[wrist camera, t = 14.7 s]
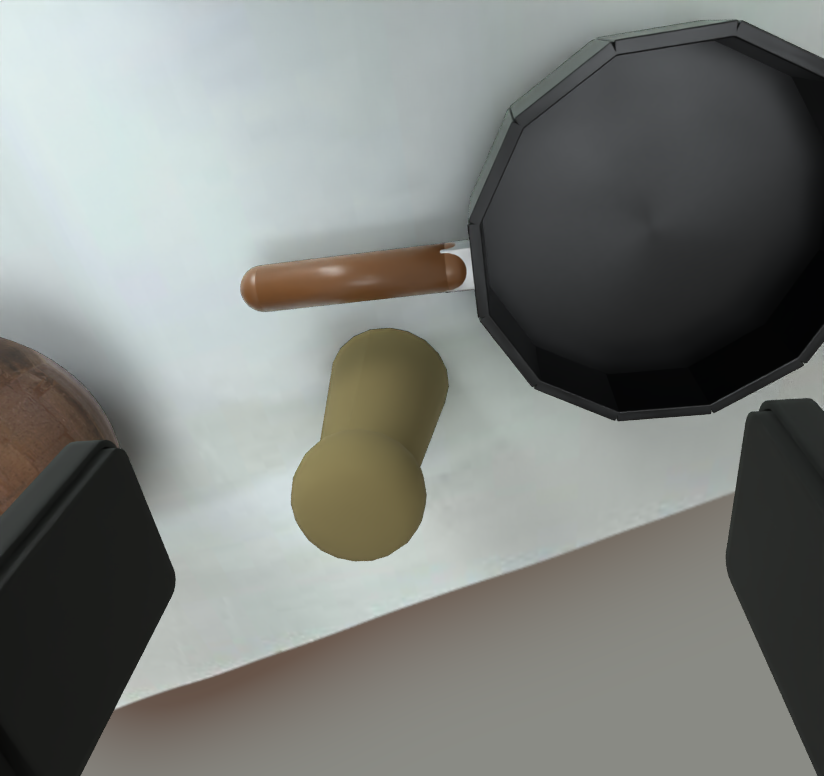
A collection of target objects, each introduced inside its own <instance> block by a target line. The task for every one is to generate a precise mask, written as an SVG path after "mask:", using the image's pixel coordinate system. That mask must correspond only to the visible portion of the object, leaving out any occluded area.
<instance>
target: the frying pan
mask: <svg viewBox="0 0 824 776" xmlns="http://www.w3.org/2000/svg"><path fill="white" fill-rule="evenodd" d="M510 107H511V109H508V110H507V113H506V115H505V117H504V120H503V122H502V124H501V127H500V129H499V131H498V133H497V136H496V138H495V140H494V143H493V145H492V147H491V150H490V152H489V154H488V157H487V159H486V161H485V164H484V166H483V168H482V171H481V173H480V175H479V178H478V180H477V182H476V185H475V187H474V189H473V192H472V194H471V196H470V202H469V214H468V234H469V240H461V241H453V242H445V243H439V244H431V245H423V246H414V247H406V248H398V249H390V250H382V251H374V252H365V253H357V254H349V255H341V256H333V257H324V258H316V259H308V260H300V261H292V262H284V263H275V264H267V265H260V266H255V267H253V268H251V269H250V270H249V271H247V272H246V274H245V275H244V276H243V278H242V281H241V285H240V291H241V295H242V298H243V300H244V301H245V303H246V304H247V305H248V306H250V307H251V308H252V309H254V310H257V311H261V312H270V311H279V310H288V309H297V308H306V307H315V306H324V305H334V304H343V303H352V302H361V301H370V300H379V299H388V298H397V297H406V296H415V295H424V294H433V293H442V292H446V293H448V292H457V291H466V290H475V296H476V305H477V314H478V318H479V320H480V322H481V323H482V325H483V326H484V327H485V328H486V330H487V331H488V332H489V333H490V335H491V336H492V337H493V338H494V340H495V341H496V342H497V344H498V345H499V346H500V347H501V349H502V350H503V351H504V352H505V354H506V355H507V356H508V357H509V359H510V360H511V361H512V363H513V364H514V365H515V366H516V368H517V369H518V370H519V371H520V373H521V374H522V375H523V376H524V378H525V379H526V380H527V382H528V383H529V384H530V385H531V386H532V387H534V389H536V390H538V391H541V392H543V393H546V394H548V395H551V396H554V397H556V398H559V399H561V400H564V401H566V402H569V403H571V404H574V405H576V406H579V407H581V408H584V409H586V410H589V411H591V412H594V413H596V414H599V415H601V416H604V417H606V418H609V419H611V420H614V421H615V420H616V419H617V421H627V420H640V419H653V418H666V417H679V416H692V415H705V414H711V410H712V412H713V413H715V412H717V411H719V410H721V409H723V408H725V407H727V406H729V405H730V404H732V403H734V402H736V401H738V400H740V399H742V398H744V397H746V396H747V395H749V394H751V393H753V392H755V391H757V390H759V389H761V388H763V387H765V386H766V385H768V384H770V383H772V382H774V381H776V380H778V379H780V378H782V377H783V376H785V375H787V374H789V373H791V372H793V371H795V370H797V369H799V368H801V367H802V366H804V364H803V363H807V362H808V361H809V360H810V358H811V357H812V356H813V355H814V353H815V352H816V351H817V350H818V348H819V347H820V346H821V345H822V343H823V342H824V59H823V58H821V57H819V56H817V55H815V54H813V53H811V52H809V51H806V50H804V49H802V48H800V47H798V46H796V45H794V44H792V43H790V42H787V41H785V40H783V39H781V38H779V37H777V36H775V35H773V34H770V33H768V32H766V31H764V30H762V29H760V28H758V27H756V26H754V25H751V24H749V23H747V22H745V21H743V20H740V21H738V20H701V21H695V22H689V23H683V24H677V25H670V26H664V27H658V28H652V29H646V30H640V31H634V32H628V33H622V34H616V35H610V36H604V37H598V38H597V39H596V40H592V41H591V42H589V43H588V44H587V45H586V46H584V47H583V48H582V49H581V50H579V51H578V52H577V53H576V54H574V55H573V56H572V57H571V58H569V59H568V60H567V61H566V62H564V63H563V64H562V65H561V66H559V67H558V68H557V69H556V70H554V71H553V72H552V73H551V74H550V75H548V76H547V77H546V78H545V79H543V80H542V81H541V82H540V83H538V84H537V85H536V86H535V87H533V88H532V89H531V90H530V91H528V92H527V93H526V94H525V95H523V96H522V97H521V98H520V99H518V100H517V101H516V102H515V103H513V104H512V105H511V106H510Z"/></svg>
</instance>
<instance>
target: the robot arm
mask: <svg viewBox="0 0 824 776" xmlns="http://www.w3.org/2000/svg"><path fill="white" fill-rule="evenodd" d="M726 566H727V572H728V576H729V578H730V581H731V583H732V586H733V588H734V590H735V592H736V595H737V597H738V599H739V601H740V603H741V606H742V608H743V610H744V612H745V614H746V617H747V619H748V621H749V624H750V626H751V628H752V630H753V632H754V635H755V637H756V639H757V641H758V643H759V646H760V648H761V650H762V652H763V655H764V657H765V659H766V662H767V664H768V666H769V668H770V671H771V672H772V675H773V677H774V679H775V682H776V684H777V686H778V688H779V691H780V693H781V694H782V697H783V699H784V702H785V704H786V706H787V708H788V711H789V713H790V715H791V717H792V720H793V722H794V724H795V726H796V729H797V731H798V733H799V735H800V738H801V740H802V742H803V744H804V746H805V748H806V751H807V753H808V755H809V758H810V760H811V762H812V764H813V767H814V769H815V771H816V773H817V776H824V411H823V410H822V409H821V408H820V407H819V405H818V404H817V403H816V402H815V401H813V400H812V399H809V398H802V399H785V400H768V401H765V402H763V403H762V405H761V407H760V410H759V411H756V412H750V413H749V414H748V416H747V419H746V423H745V430H744V437H743V443H742V450H741V456H740V463H739V470H738V476H737V483H736V490H735V496H734V503H733V510H732V517H731V523H730V530H729V536H728V543H727V549H726ZM175 580H176V579H175V572H174V569H173V566H172V564H171V561H170V559H169V556H168V554H167V551H166V549H165V547H164V544H163V542H162V539H161V537H160V534H159V532H158V529H157V527H156V524H155V522H154V519H153V517H152V515H151V512H150V510H149V507H148V505H147V502H146V500H145V497H144V495H143V492H142V490H141V487H140V485H139V483H138V480H137V478H136V475H135V473H134V470H133V468H132V465H131V463H130V460H129V458H128V456H127V454H126V452H125V451H124V450H123V449H120V448H117V447H116V445H115V444H114V443H113V442H112V441H109V440H92V441H75V442H71V443H69V444H68V445H66V446H65V447H64V448H63V449H62V450H61V451H60V452H59V454H58V455H57V456H56V457H55V458H54V459H53V460H52V461H51V462H50V463H49V464H48V465H47V467H46V468H45V469H44V470H43V471H42V472H41V473H40V474H39V475H38V476H37V477H36V478H35V479H34V481H33V482H32V483H31V484H30V485H29V486H28V487H27V488H26V489H25V490H24V491H23V492H22V494H21V495H20V496H19V497H18V498H17V499H16V500H15V501H14V502H13V503H12V504H11V505H10V507H9V508H8V509H7V510H6V511H5V512H4V513H3V514H2V515H1V516H0V776H80V775H81V774H82V772H83V770H84V767H85V766H86V764H87V762H88V760H89V758H90V756H91V754H92V752H93V750H94V748H95V746H96V744H97V742H98V740H99V738H100V736H101V734H102V732H103V730H104V728H105V726H106V724H107V722H108V721H109V719H110V716H111V715H112V713H113V711H114V709H115V707H116V705H117V703H118V701H119V699H120V697H121V695H122V693H123V691H124V689H125V687H126V685H127V683H128V681H129V679H130V677H131V675H132V673H133V671H134V669H135V668H136V666H137V664H138V662H139V660H140V658H141V656H142V654H143V652H144V650H145V648H146V646H147V644H148V642H149V640H150V638H151V636H152V634H153V632H154V630H155V628H156V626H157V624H158V622H159V620H160V618H161V616H162V615H163V613H164V611H165V609H166V607H167V605H168V603H169V601H170V599H171V597H172V595H173V592H174V588H175Z"/></svg>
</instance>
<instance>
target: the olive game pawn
mask: <svg viewBox="0 0 824 776" xmlns="http://www.w3.org/2000/svg"><path fill="white" fill-rule="evenodd" d="M448 387H449V384H448V377H447V369H446V368H445V366H444V364H443V362H442V360H441V358H440V356H439V354H438V353H437V352H436V351H435V350H434V349H433V348H432V347H431V346H430V345H429V344H428V343H427V342H426V341H425V340H423V339H421V338H419V337H417V336H415V335H413V334H412V333H410V332H407V331H402V330H397V329H392V328H384V329H373V330H369V331H366V332H364V333H361V334H359V335H357V336H354V337H353V338H352V339H351V340H349V341H348V342H347V343H346V344H345V345H344V346H343V347H342V348H341V349H340V350H339V352H338V354H337V356H336V358H335V360H334V362H333V365H332V371H331V378H330V384H329V390H328V396H327V402H326V409H325V415H324V421H323V427H322V433H321V440H320V442H318V443H317V444H316V445H315V446H313V447H312V448H311V449H310V450H309V451H308V452H307V453H306V454H305V456H304V457H303V459H302V461H301V463H300V465H299V466H298V468H297V470H296V472H295V475H294V477H293V483H292V492H291V506H292V509H293V513H294V516H295V520H296V522H297V524H298V526H299V527H300V529H301V530H302V532H303V533H304V534H305V536H306V537H307V539H308V540H309V541H310V542H312V543H313V544H314V545H315V546H317V547H318V548H319V549H320V550H322V551H324V552H326V553H328V554H330V555H332V556H335V557H337V558H341V559H346V560H351V561H373V560H376V559H379V558H382V557H386V556H388V555H390V554H391V553H393V552H394V551H396V550H397V549H399V548H400V547H402V546H403V545H405V544H406V543H408V541H409V540H410V539H411V537H412V536H413V534H414V533H415V532H416V530H417V529H418V527H419V525H420V523H421V521H422V518H423V514H424V509H425V505H426V489H425V482H424V477H423V474H422V470H421V468H420V466H421V464H422V461H423V458H424V456H425V453H426V451H427V448H428V445H429V443H430V440H431V437H432V435H433V432H434V430H435V427H436V424H437V422H438V419H439V417H440V414H441V411H442V409H443V406H444V404H445V400H446V396H447V392H448Z"/></svg>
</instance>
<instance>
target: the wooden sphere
mask: <svg viewBox="0 0 824 776" xmlns="http://www.w3.org/2000/svg"><path fill="white" fill-rule="evenodd" d="M92 440H109V441H112V442H113V443H114V444H115V445H116V447H117V448H120V447H119V444H118V441H117V438H116V435H115V433H114V430H113V428H112V426H111V424H110V422H109V420H108V418H107V416H106V414H105V413H104V411H103V409H102V408H101V406H100V405H99V404H98V402H97V401H96V400H95V398H94V397H93V396H92V395H91V393H90V392H89V391H88V390H87V389H86V388H85V387H84V386H83V385H82V384H81V383H80V382H79V381H78V380H77V379H76V378H75V377H74V376H73V375H72V374H70V373H69V372H68V371H67V370H65V369H64V368H63V367H61V366H60V365H58V364H57V363H55V362H54V361H52V360H51V359H49V358H47V357H46V356H44V355H42V354H40V353H38V352H36V351H35V350H32V349H30V348H28V347H26V346H23V345H21V344H18V343H16V342H13V341H10V340H7V339H4V338H1V337H0V516H1V515H2V514H3V513H4V512H5V511H6V510H7V509H8V508H9V507H10V505H11V504H12V503H13V502H14V501H15V500H16V499H17V498H18V497H19V496H20V495H21V494H22V492H23V491H24V490H25V489H26V488H27V487H28V486H29V485H30V484H31V483H32V482H33V481H34V479H35V478H36V477H37V476H38V475H39V474H40V473H41V472H42V471H43V470H44V469H45V468H46V467H47V465H48V464H49V463H50V462H51V461H52V460H53V459H54V458H55V457H56V456H57V455H58V454H59V452H60V451H61V450H62V449H63V448H64V447H65V446H66V445H68V444H69V443H71V442H75V441H92Z"/></svg>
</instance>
